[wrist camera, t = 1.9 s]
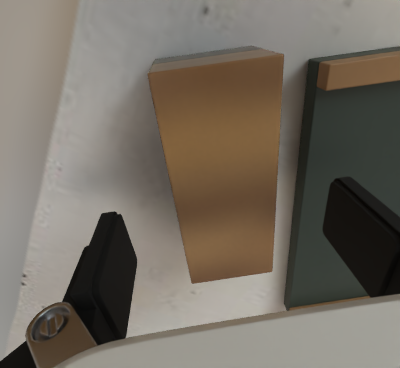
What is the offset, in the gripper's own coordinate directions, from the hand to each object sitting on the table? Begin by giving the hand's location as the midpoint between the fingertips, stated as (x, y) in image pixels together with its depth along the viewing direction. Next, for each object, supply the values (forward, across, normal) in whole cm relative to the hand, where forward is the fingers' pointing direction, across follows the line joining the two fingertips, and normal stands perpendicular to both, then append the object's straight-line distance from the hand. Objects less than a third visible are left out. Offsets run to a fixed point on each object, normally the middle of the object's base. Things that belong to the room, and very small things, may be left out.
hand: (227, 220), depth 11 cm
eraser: (+6, 0, 0) cm, 6 cm away
